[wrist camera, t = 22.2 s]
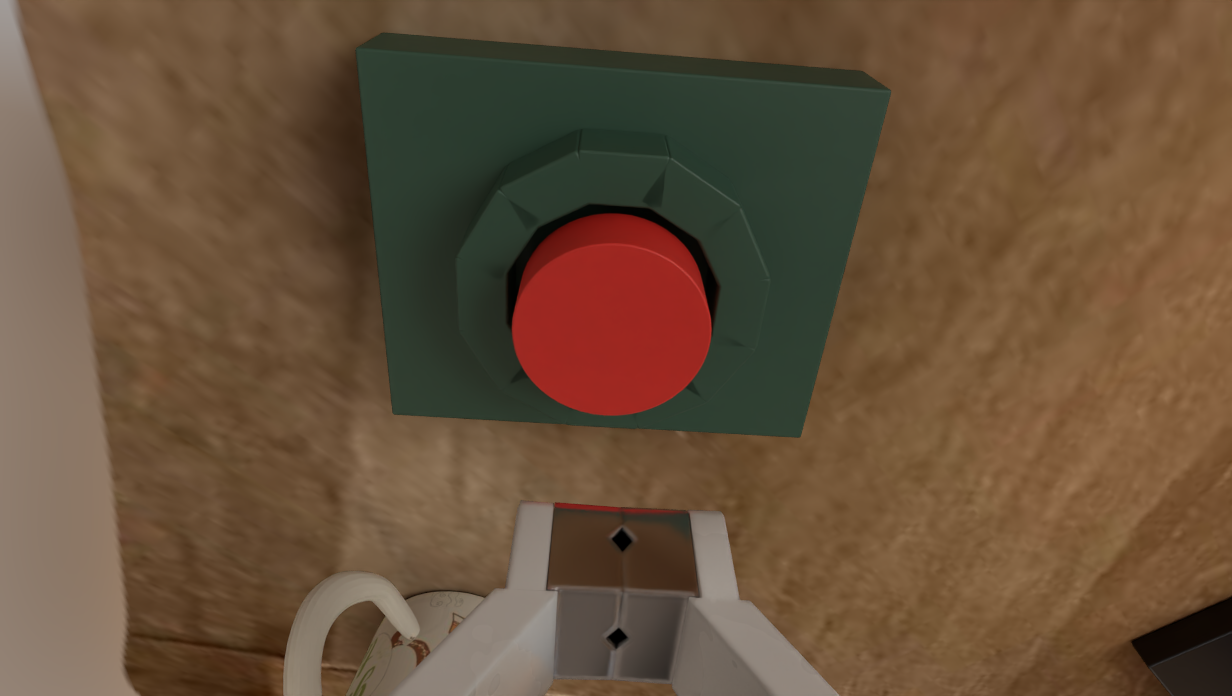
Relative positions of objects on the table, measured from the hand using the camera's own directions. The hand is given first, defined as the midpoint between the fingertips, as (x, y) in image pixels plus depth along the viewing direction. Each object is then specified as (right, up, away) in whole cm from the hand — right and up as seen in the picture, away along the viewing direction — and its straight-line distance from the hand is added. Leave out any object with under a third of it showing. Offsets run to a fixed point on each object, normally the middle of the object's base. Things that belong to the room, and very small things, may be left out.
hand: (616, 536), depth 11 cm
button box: (0, +6, +10) cm, 11 cm away
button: (0, +4, +7) cm, 8 cm away
